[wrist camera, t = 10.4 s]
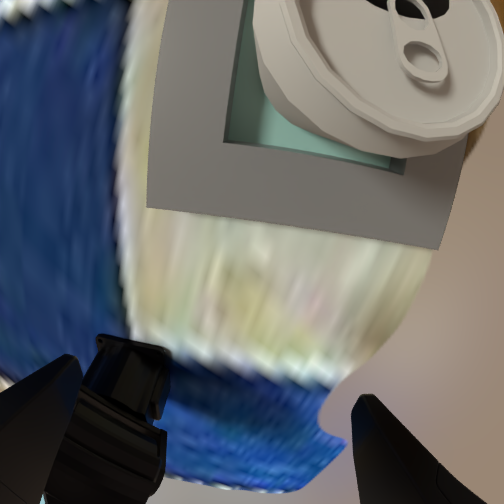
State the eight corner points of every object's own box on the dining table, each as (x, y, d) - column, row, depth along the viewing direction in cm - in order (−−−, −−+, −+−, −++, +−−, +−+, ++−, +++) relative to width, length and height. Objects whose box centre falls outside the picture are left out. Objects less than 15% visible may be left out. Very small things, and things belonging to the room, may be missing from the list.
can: (377, 22, 13) (496, -51, 2) (386, 135, 16) (528, 179, 6) (254, 19, 14) (237, -106, 3) (264, 136, 17) (263, 171, 6)
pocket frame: (160, 195, 19) (146, 207, 17) (196, -56, 11) (188, -74, 9) (422, 235, 19) (438, 250, 17) (456, 3, 12) (475, -5, 9)
